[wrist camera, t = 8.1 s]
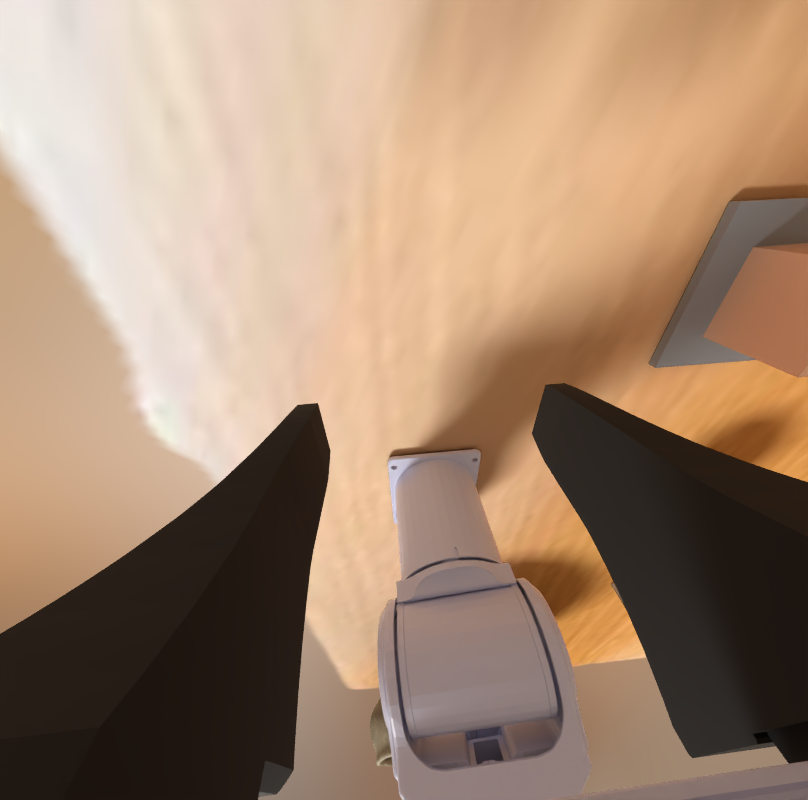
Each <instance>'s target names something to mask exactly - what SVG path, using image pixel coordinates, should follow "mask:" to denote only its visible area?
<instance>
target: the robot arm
mask: <svg viewBox="0 0 808 800" xmlns="http://www.w3.org/2000/svg"><path fill="white" fill-rule="evenodd" d="M532 435H533V437H534V439H535V442H536V444H537V446H538V449H539V451H540V453H541V455H542V457H543V459H544V461H545V463H546V464H547V466H548V468H549V469H550V471H551V473H552V474H553V476H554V477H555V479H556V481H557V482H558V484H559V485H560V487H561V488H562V490H563V492H564V493H565V495H566V496H567V498H568V499H569V501H570V503H571V504H572V506H573V507H574V509H575V510H576V512H577V514H578V515H579V517H580V518H581V520H582V521H583V523H584V525H585V527H586V528H587V530H588V532H589V534H590V535H591V537H592V539H593V541H594V543H595V545H596V547H597V549H598V551H599V553H600V555H601V557H602V559H603V561H604V563H605V565H606V567H607V569H608V571H609V573H610V575H611V577H612V579H613V582H614V584H615V586H616V588H617V590H618V592H619V594H620V596H621V599H622V601H623V603H624V605H625V607H626V610H627V612H628V614H629V617H630V619H631V621H632V624H633V626H634V628H635V630H636V633H637V635H638V637H639V640H640V642H641V644H642V647H643V649H644V651H645V654H646V657H647V659H648V662H649V664H650V667H651V669H652V672H653V674H654V677H655V680H656V682H657V685H658V687H659V690H660V693H661V695H662V697H663V700H664V703H665V706H666V708H667V711H668V714H669V717H670V720H671V722H672V725H673V727H674V729H675V731H676V733H677V735H678V736H679V738H680V740H681V742H682V743H683V745H684V747H685V749H686V750H687V752H688V754H689V755H690V756H691V757H692V758H696V757H703V756H710V755H717V754H724V753H731V752H738V751H745V750H752V749H759V748H766V747H773V746H777V748H778V749H779V751H780V752H781V753H782V754H783V756H784V758H785V759H786V760H787V762H788V763H789V764H784V765H777V766H770V767H763V768H756V769H749V770H743V771H736V772H730V773H722V774H715V775H709V776H702V777H695V778H688V779H682V780H675V781H668V782H661V783H654V784H647V785H641V786H634V787H627V788H620V789H613V790H607V791H600V792H593V793H586V794H582V792H583V789H584V787H585V785H586V783H587V781H588V778H589V776H590V773H591V767H592V765H591V762H590V758H589V755H588V748H589V744H588V740H587V737H586V733H585V730H584V726H583V722H582V718H581V714H580V710H579V706H578V701H577V688H576V681H575V676H574V672H573V668H572V664H571V661H570V657H569V654H568V651H567V648H566V645H565V642H564V640H563V637H562V634H561V632H560V629H559V627H558V624H557V622H556V620H555V618H554V615H553V613H552V611H551V609H550V607H549V605H548V603H547V602H546V600H545V598H544V597H543V595H542V594H541V592H540V591H539V590H538V589H537V588H536V587H534V586H533V585H532V584H531V583H530V582H529V581H528V580H526V579H525V578H516V579H515V577H514V574H513V571H512V568H511V566H510V563H502V560H501V557H500V554H499V551H498V549H497V546H496V543H495V540H494V537H493V534H492V531H491V529H490V526H489V523H488V520H487V517H486V514H485V511H484V509H483V506H482V503H481V500H480V497H479V494H478V491H477V489H476V484H477V477H478V471H479V465H480V458H481V453H480V451H479V450H478V449H470V450H459V451H448V452H437V453H426V454H415V455H404V456H393V457H390V458H389V459H388V470H389V479H390V489H391V499H392V508H393V518H394V523H395V524H397V525H398V539H399V554H400V568H401V581H397V598H396V599H391V600H389V601H388V602H387V604H386V607H385V608H384V610H383V612H382V613H381V616H380V620H379V628H378V676H379V688H380V697H381V705H382V711H383V716H384V720H385V724H386V726H387V728H388V734H389V740H390V747H391V755H392V764H393V773H394V776H395V778H396V779H397V781H398V785H399V795H400V797H401V798H402V800H808V482H805V481H802V480H799V479H796V478H793V477H789V476H786V475H783V474H780V473H777V472H774V471H771V470H768V469H765V468H762V467H759V466H756V465H753V464H751V463H748V462H745V461H742V460H739V459H737V458H734V457H731V456H729V455H726V454H724V453H721V452H718V451H716V450H713V449H710V448H708V447H705V446H703V445H700V444H698V443H695V442H693V441H690V440H688V439H685V438H683V437H681V436H679V435H676V434H674V433H672V432H669V431H667V430H665V429H662V428H660V427H658V426H656V425H653V424H651V423H649V422H647V421H645V420H643V419H640V418H638V417H636V416H634V415H632V414H630V413H628V412H626V411H624V410H622V409H620V408H617V407H615V406H613V405H611V404H609V403H607V402H605V401H603V400H601V399H599V398H597V397H595V396H593V395H590V394H588V393H586V392H584V391H582V390H580V389H577V388H575V387H573V386H570V385H567V384H565V383H563V384H550V385H545V389H544V393H543V396H542V400H541V403H540V407H539V410H538V414H537V417H536V421H535V424H534V428H533V432H532ZM474 458H475V459H474ZM329 463H330V448H329V444H328V440H327V436H326V433H325V429H324V425H323V421H322V417H321V413H320V409H319V406H318V403H315V404H303V405H297V406H296V407H295V408H294V409H293V410H292V411H291V413H290V414H289V415H288V416H287V417H286V418H285V419H284V420H283V421H282V422H281V423H280V424H279V425H278V426H277V427H276V429H275V430H274V431H273V432H272V433H271V434H270V435H269V436H268V437H267V438H266V439H265V440H264V441H263V442H262V443H261V444H260V445H259V446H258V447H257V448H256V449H255V450H254V451H253V452H252V453H251V454H250V455H249V456H248V457H247V458H246V459H245V460H244V461H243V462H242V463H240V464H239V465H238V466H237V467H236V468H235V469H234V470H233V471H232V472H231V473H230V474H229V475H228V476H227V477H226V478H225V479H223V480H222V481H221V482H220V483H219V484H218V485H217V486H215V487H214V488H213V489H212V490H211V491H209V492H208V493H207V494H206V495H205V496H204V497H202V498H201V499H200V500H198V501H197V502H196V503H195V504H194V505H193V506H191V507H190V508H189V509H188V510H186V511H185V512H184V513H182V514H181V515H180V516H178V517H177V518H176V519H174V520H173V521H172V522H170V523H169V524H167V525H166V526H165V527H163V528H162V529H161V530H159V531H158V532H156V533H155V534H154V535H152V536H151V537H149V538H148V539H147V540H145V541H144V542H143V543H141V544H140V545H138V546H137V547H136V548H134V549H133V550H132V551H130V552H129V553H127V554H126V555H125V556H123V557H121V558H120V559H119V560H117V561H116V562H114V563H113V564H111V565H110V566H108V567H107V568H105V569H104V570H102V571H100V572H99V573H97V574H96V575H95V576H93V577H91V578H90V579H88V580H87V581H85V582H84V583H82V584H81V585H79V586H78V587H76V588H74V589H73V590H71V591H70V592H68V593H66V594H65V595H63V596H62V597H60V598H59V599H57V600H56V601H54V602H52V603H51V604H49V605H47V606H46V607H44V608H43V609H41V610H39V611H38V612H36V613H34V614H33V615H31V616H30V617H28V618H27V619H25V620H23V621H21V622H20V623H18V624H16V625H15V626H13V627H11V628H9V629H8V630H6V631H4V632H3V633H1V634H0V800H258V797H260V796H267V795H275V794H277V793H278V792H279V791H280V789H281V788H282V787H283V785H284V784H285V782H286V781H287V779H288V778H289V776H290V775H291V773H292V771H293V769H294V749H295V735H296V719H297V704H298V689H299V677H300V665H301V653H302V641H303V631H304V621H305V611H306V601H307V593H308V584H309V575H310V567H311V561H312V555H313V549H314V544H315V540H316V535H317V530H318V526H319V521H320V516H321V512H322V507H323V502H324V497H325V492H326V488H327V483H328V475H329Z"/></svg>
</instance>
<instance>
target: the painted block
mask: <svg viewBox="0 0 808 800" xmlns="http://www.w3.org/2000/svg"><path fill="white" fill-rule="evenodd" d="M703 337H704V338H706V339H709V340H711V341H713V342H716V343H718V344H720V345H723V346H725V347H728V348H730V349H732V350H735V351H737V352H739V353H742V354H744V355H746V356H749V357H751V358H753V359H756V360H758V361H760V362H763V363H765V364H767V365H770V366H772V367H774V368H777V369H779V370H782V371H784V372H786V373H789V374H791V375H793V376H796V377H807V376H808V243H801V244H788V245H776V246H763V247H753V248H752V250H751V252H750V254H749V256H748V257H747V259H746V261H745V263H744V264H743V266H742V268H741V270H740V271H739V273H738V275H737V277H736V279H735V280H734V282H733V284H732V286H731V287H730V289H729V291H728V293H727V294H726V296H725V298H724V300H723V301H722V303H721V305H720V307H719V309H718V310H717V312H716V314H715V316H714V317H713V319H712V321H711V323H710V324H709V326H708V328H707V330H706V332H705V333H704V335H703Z"/></svg>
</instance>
